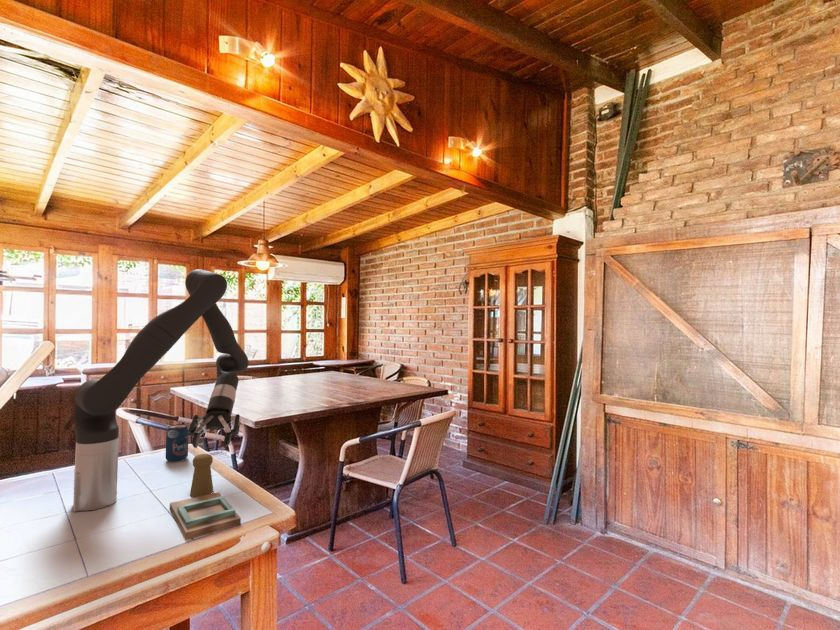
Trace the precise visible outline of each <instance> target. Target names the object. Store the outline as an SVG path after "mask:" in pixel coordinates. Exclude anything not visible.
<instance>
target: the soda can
mask: <svg viewBox="0 0 840 630" xmlns="http://www.w3.org/2000/svg"><path fill="white" fill-rule="evenodd" d="M165 433H166V434H165V460H167V462H168V463H180V462H183V461H184V462H185V460H186V459H187V458H188V455H189V435H190V433H189V427H188V425H187V424H185V423H178V424H172V425H169V426H168V427H167V430H166V432H165Z"/></svg>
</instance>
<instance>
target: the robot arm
mask: <svg viewBox="0 0 840 630" xmlns="http://www.w3.org/2000/svg"><path fill="white" fill-rule="evenodd" d="M227 281H228V280H227V279H226V277H225V276H224V275H222V274H220V273H218V272H213V271H209V270H205V269H200V268H199V269H193V270H192V271H190V272H189V273H188V274H187V275H186V278H185V281H184V284H185V289H186V291H187V293H188V295H189V296H188V297H187V298H186V299H185V300H184V301H182V302H181V303H179V304H178V305H175V306H174V307H172V308H169V309H167V310H166V311H164V312H161V313H160V314H158V315H156V316H155V317H153V318H152V319H151V320H150V321H149V322H147V324H146V325H144V327H143V328H141V330H139V332H138V333H137V334H136V335H135V337H134V338H133V339H132V340H131V342H130V343H129V345H128V347H127V348H126V351H124V353H123V356H121V358H120V360H119V361H118V362H117V363H116V364H115V365H114V366H113V367H112V368H111V369H110V370H109V371H108V372H107V373H105V374H104V375H103V376H102V377H101V378H91V379H88V380H87V381H85V382H83V383H82V384H80V385H79V387H78V388H77V389H76V392H75V395H74V401H73V402H74V403H73V406H74V407H73V409H74V410H73V411H74V412H73V427H74V434H75V453H74V455H75V456H74V457H75V458H74V476H73V477H74V479H73V502H72V503H73V505H72V506H73V507H72V508H73V512H80V511H81V512H86V511H93V510H99V509H103V508H106V507H108V506H111V505H112V504H114V503H116V502H117V499H118V466H119V442H120V441H119V439H120V438H119V435H120V433H119V432H120V431H119V430H120V428H119V424H118V422H117V416H116V413H117V412H116V410H117V409H119V408H120V406H121V405H122V404H123V403H124V401H125V400H126V399H127V397H129V395H130V394H131V392H132V391H133V389H134V388H135V387H136V386H137V384H138V383H139V382H140V381H141V380H142V378H143V377H144V376H145V375H146V374H147V373H148V372H149V371H150V370H151V369H152V368H154V366H155V365H156V364H157V363H158V362H159V361H160V360H161V359H162V358H163V357H164V356H165V355H166V354H167V353H168V352H169V351H170V350H171V349H172V347H173V346H175V344H177V342H178V341H179V340H180V339H181V338H182V336H183V335H184V334H185V333H186V332H187V331H188V330H189V329H190V328H191V327H192V326H193V325H194V324H195V323H196V322H197V321H198V320H199V318H200V317H202V319H203V321H204V323H205V325H206V327H207V329H208V331H209V335H210V336H211V337H210V338H211V341H212V343H213V345H214V348H215V350H216V351H217V352H218V353H221V354H220V355H219V356H218V357H217V358H216V362H215V367H216V380H215V383H214V387H213V389H212V392H211V394H210V398H209V401H208V405H207V408H206V412H205V414H204V415H203V416H199V415H198V414H195V415H193V418H192V420H191V423H190V425H189V427H188V430H189V435H190V436H193V437H192V440H191V445H192V447H193V448H194V449H195V448H196V449H198V446H199V443H200V439H201V436H202V435H203V434H206V433H207V432H208V431H215V430H216V431H221V430H223V431H224V432H225V434H224V440H223V443H222V444H223V448H227V447H228V446H229V445H230V443H231V440H232V437H233V436H234V435H237V436H238V434H239V432H240V427H241V417H240V414H239V413H238V414H236V415H232V413H233V409H234V405H235V401H236V394H237V389H238V385H239V376H238V375H237V374H236V373H243V372H245V371H246V370H247V369H248V367H249V358H248V356H247V354H246V352H245V351H244V350H243V348H242V347H241V346H240V344H239V343H238V340H237V339H236V337H235V333H234V330H233V328H232V325H231V323H230V322H229V321H228V319H227V317H226V316H225V315H224V313H223V312H222V311H221V309H220V308H219V306H218V305H217V302H219V301H220V300H221V299H222V297H223V296H224V295H225V293H226V291H227V288H228V282H227ZM201 422H202V423H201ZM231 422H232V423H234V424H233V428H230V426H229V424H230V423H231ZM198 426H199V427H198Z"/></svg>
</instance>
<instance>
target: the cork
mask: <svg viewBox="0 0 840 630" xmlns="http://www.w3.org/2000/svg"><path fill="white" fill-rule="evenodd" d="M212 464H213V456H212V454H210V453H201V454H197V455H195V456H194V457H193V459H192V466H193V469H194V470H193V474H192V481H191V487H190V494H189V496H190V497H191V498H195V497H199V496H203V495H208V494H211V493H212V492H213V493H214V486H213V478H212V477H213V476H212V469H211V466H212Z"/></svg>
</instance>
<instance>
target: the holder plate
mask: <svg viewBox="0 0 840 630" xmlns="http://www.w3.org/2000/svg"><path fill="white" fill-rule="evenodd" d="M169 510H170V512H171V514H172V516H173V518H174V520H175V522H176V523H177V526H178V527H179V529H180V532H181V533H182V535H183V537H184V538H185V540H189V539H192V538H196V537H200V536H202V535H206V534H210V533H214V532H217V531H222V530H225V529H228V527H229V528H233V527H235V526H239V524H240V525H241V523H242V522H241V520H242V518H241V517H240V515H239V514H238V513H237V512H236V509H235V508H234V507H233V506H232V504H231V503H230V502H229V501H228V500H227V499H226V497H225V496H224V495H222V494H221V493H220V492H219V491H217V492H213V493H212V494H208V495H203V496H199V497H191V498H187V499H182V500H177V501H172V502H170V503H169Z"/></svg>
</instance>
